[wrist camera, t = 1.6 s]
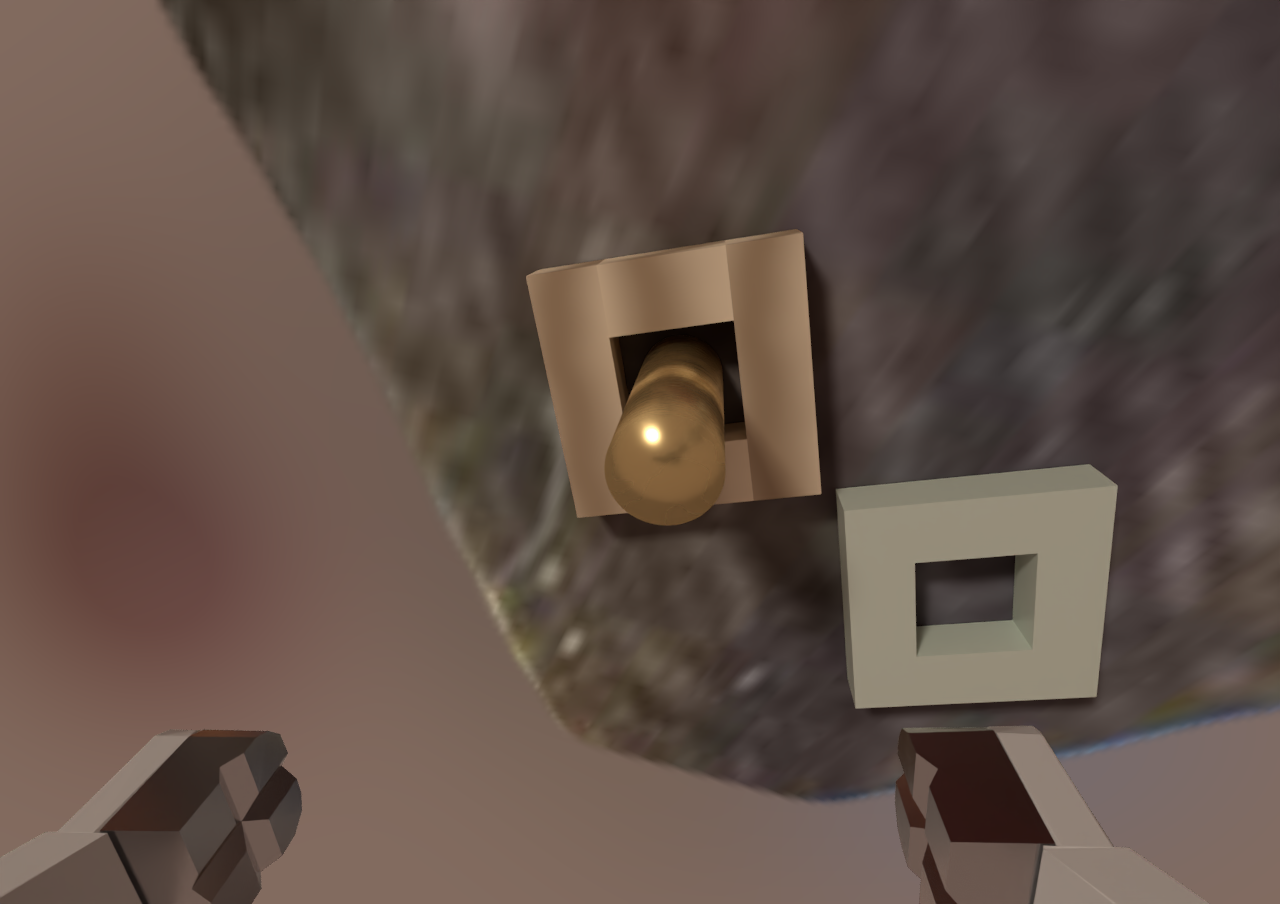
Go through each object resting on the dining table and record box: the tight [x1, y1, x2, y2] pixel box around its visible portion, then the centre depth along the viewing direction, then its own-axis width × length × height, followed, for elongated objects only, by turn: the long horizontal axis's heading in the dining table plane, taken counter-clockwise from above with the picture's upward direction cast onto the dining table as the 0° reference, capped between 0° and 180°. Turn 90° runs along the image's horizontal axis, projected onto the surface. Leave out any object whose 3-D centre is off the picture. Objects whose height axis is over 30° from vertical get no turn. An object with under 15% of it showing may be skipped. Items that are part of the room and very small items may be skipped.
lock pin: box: [604, 335, 726, 526], centre depth 28 cm, size 4×4×12 cm
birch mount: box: [526, 229, 821, 518], centre depth 32 cm, size 12×12×2 cm
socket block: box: [836, 464, 1118, 708], centre depth 35 cm, size 12×12×2 cm
